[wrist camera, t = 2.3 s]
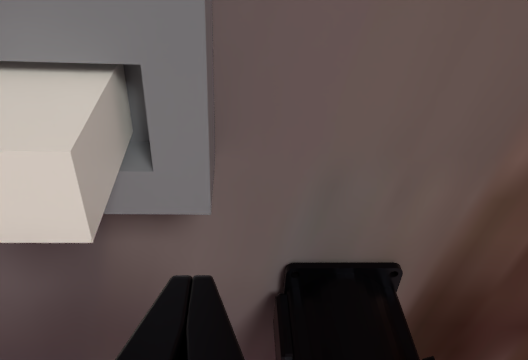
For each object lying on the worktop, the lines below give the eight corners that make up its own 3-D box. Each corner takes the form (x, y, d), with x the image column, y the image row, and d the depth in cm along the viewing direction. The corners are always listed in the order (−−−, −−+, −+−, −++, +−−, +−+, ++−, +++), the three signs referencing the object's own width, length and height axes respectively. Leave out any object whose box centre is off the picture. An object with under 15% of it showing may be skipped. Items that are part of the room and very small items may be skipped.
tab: (122, 56, 16) (70, 151, 11) (133, 131, 17) (92, 242, 13) (1, 52, 15) (-108, 148, 10) (24, 130, 17) (-59, 242, 12)
